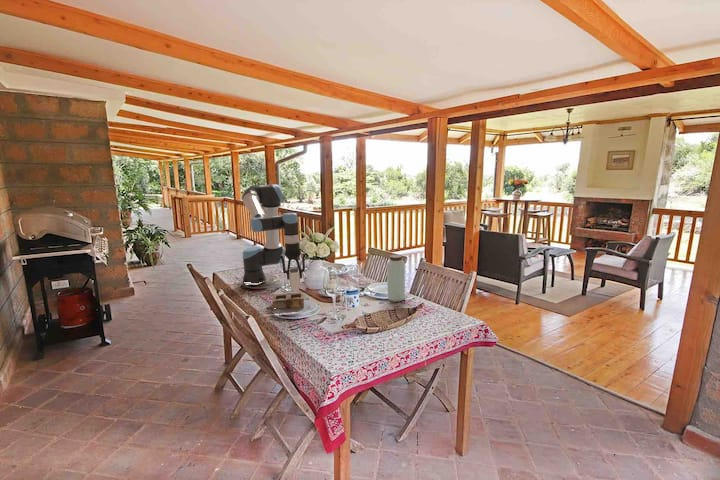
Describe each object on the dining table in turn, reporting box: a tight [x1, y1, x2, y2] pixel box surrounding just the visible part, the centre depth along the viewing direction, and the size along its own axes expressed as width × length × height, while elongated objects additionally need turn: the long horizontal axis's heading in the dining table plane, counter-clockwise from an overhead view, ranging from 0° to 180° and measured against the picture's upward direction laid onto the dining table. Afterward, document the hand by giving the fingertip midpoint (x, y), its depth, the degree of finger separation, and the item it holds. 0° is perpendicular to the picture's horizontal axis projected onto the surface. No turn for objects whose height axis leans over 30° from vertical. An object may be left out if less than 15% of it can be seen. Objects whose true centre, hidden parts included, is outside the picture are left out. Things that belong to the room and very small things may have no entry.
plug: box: [289, 266, 300, 292], centre depth 190 cm, size 4×4×12 cm
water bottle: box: [386, 254, 406, 303], centre depth 198 cm, size 10×10×25 cm
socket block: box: [272, 291, 305, 310], centre depth 193 cm, size 10×16×6 cm, turn 99°
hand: (295, 284), depth 191 cm, fingers closed on plug, 4 cm apart
